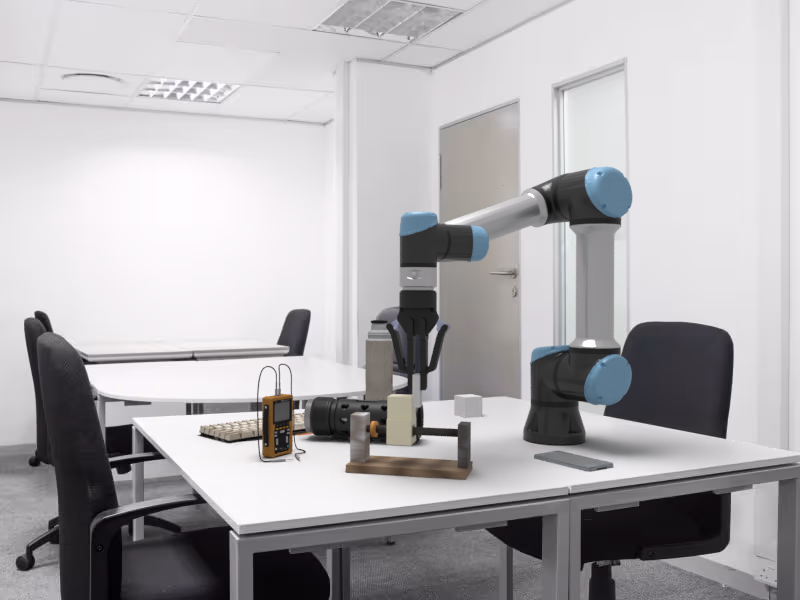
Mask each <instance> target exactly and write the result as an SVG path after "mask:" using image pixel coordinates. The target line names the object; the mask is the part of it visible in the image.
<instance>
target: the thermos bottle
mask: <svg viewBox="0 0 800 600" xmlns="http://www.w3.org/2000/svg"><path fill="white" fill-rule="evenodd" d="M370 324H371V325H370V330H369V331H367V338H366V339H365V374H364V375H365V397H364V398H365V399H364V400H387V396H389V395H391V394H394V393H393V391H394V387H393V386H394V382H393V381H394V380H393V376H394V347H393V342H392V338H391V334H390V333H389V331H388V330H387V328H386V325H387V324H388V320H385V319H374V320H370Z"/></svg>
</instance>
